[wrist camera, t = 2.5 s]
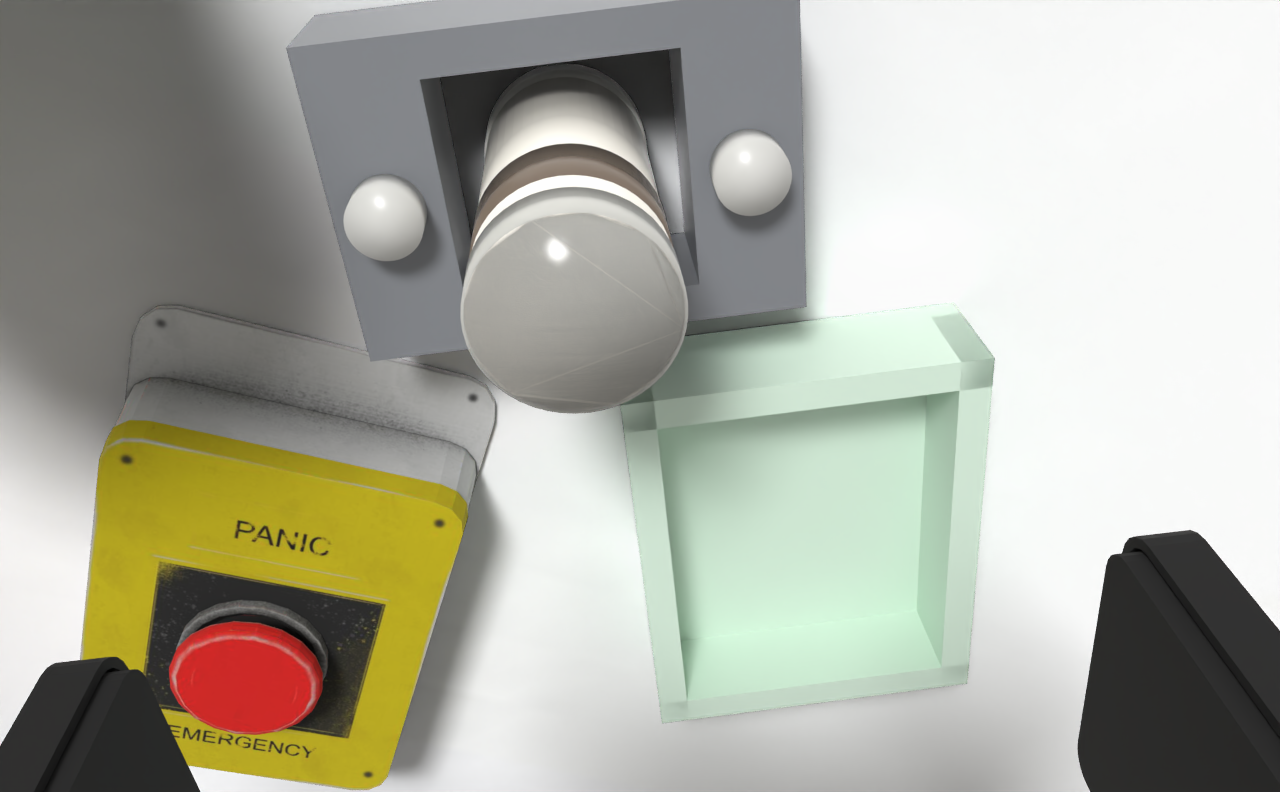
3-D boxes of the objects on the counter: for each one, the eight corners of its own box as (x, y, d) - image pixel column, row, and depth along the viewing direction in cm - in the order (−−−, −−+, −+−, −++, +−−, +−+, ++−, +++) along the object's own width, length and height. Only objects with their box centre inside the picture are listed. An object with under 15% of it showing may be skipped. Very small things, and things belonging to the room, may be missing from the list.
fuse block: (314, 15, 23) (277, 58, 20) (771, -41, 23) (808, -7, 20) (387, 303, 27) (365, 379, 24) (781, 254, 27) (814, 322, 24)
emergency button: (42, 818, 30) (78, 374, 23) (98, 700, 34) (144, 286, 27) (373, 863, 32) (500, 468, 25) (392, 747, 36) (506, 375, 29)
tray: (613, 345, 28) (620, 405, 25) (953, 302, 28) (994, 358, 25) (652, 649, 34) (661, 723, 31) (935, 612, 34) (967, 683, 31)
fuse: (472, 73, 24) (439, 225, 16) (636, 53, 24) (678, 195, 16) (500, 226, 26) (482, 425, 18) (651, 207, 26) (696, 398, 18)
